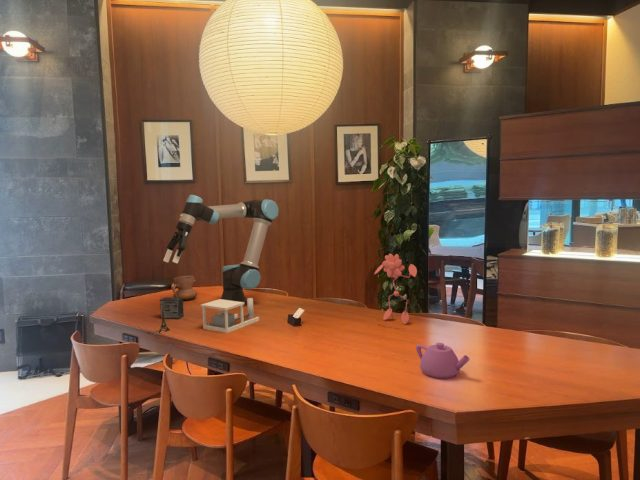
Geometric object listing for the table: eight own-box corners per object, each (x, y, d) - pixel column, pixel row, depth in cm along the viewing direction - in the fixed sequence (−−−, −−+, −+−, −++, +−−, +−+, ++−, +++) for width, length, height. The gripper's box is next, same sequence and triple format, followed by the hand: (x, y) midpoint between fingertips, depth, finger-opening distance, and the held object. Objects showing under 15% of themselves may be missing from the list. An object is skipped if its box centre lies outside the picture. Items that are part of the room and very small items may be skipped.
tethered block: (247, 316, 244) (246, 297, 243) (257, 317, 241) (257, 298, 240) (212, 328, 222) (211, 308, 221) (223, 330, 218) (222, 309, 217)
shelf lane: (235, 319, 243) (234, 294, 242) (260, 322, 235) (259, 297, 234) (201, 331, 222) (200, 304, 221) (227, 335, 214) (226, 308, 213)
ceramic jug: (188, 295, 303) (187, 274, 302) (203, 297, 295) (202, 275, 293) (165, 301, 288) (163, 279, 287) (180, 304, 280) (179, 280, 279)
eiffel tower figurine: (143, 333, 222) (142, 306, 221) (161, 328, 230) (159, 302, 229) (164, 338, 214) (163, 310, 213) (182, 332, 222) (180, 305, 221)
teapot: (461, 386, 154) (461, 355, 153) (407, 372, 167) (407, 343, 166) (476, 373, 165) (477, 344, 164) (424, 361, 178) (425, 334, 176)
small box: (184, 316, 251) (183, 297, 250) (179, 319, 245) (178, 299, 244) (165, 315, 252) (164, 296, 251) (160, 319, 246) (159, 299, 245)
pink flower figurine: (381, 315, 244) (379, 250, 240) (423, 325, 226) (423, 254, 222) (362, 322, 233) (360, 253, 229) (405, 332, 215) (404, 258, 211)
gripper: (170, 221, 248) (155, 258, 243) (188, 219, 228) (171, 260, 223) (183, 227, 252) (168, 263, 247) (201, 225, 232) (185, 265, 227)
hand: (170, 262), depth 235 cm, fingers open, 13 cm apart
